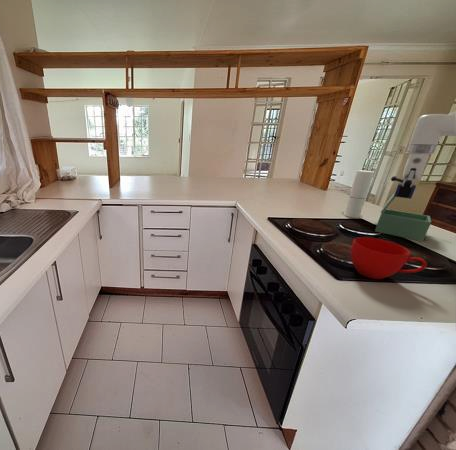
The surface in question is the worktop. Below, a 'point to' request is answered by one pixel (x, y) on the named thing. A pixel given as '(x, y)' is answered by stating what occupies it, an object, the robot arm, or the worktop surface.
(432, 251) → the worktop surface
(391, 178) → the lid
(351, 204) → the cylindrical container
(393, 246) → the ceramic cup
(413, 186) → the blue cube
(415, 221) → the green rectangular box
